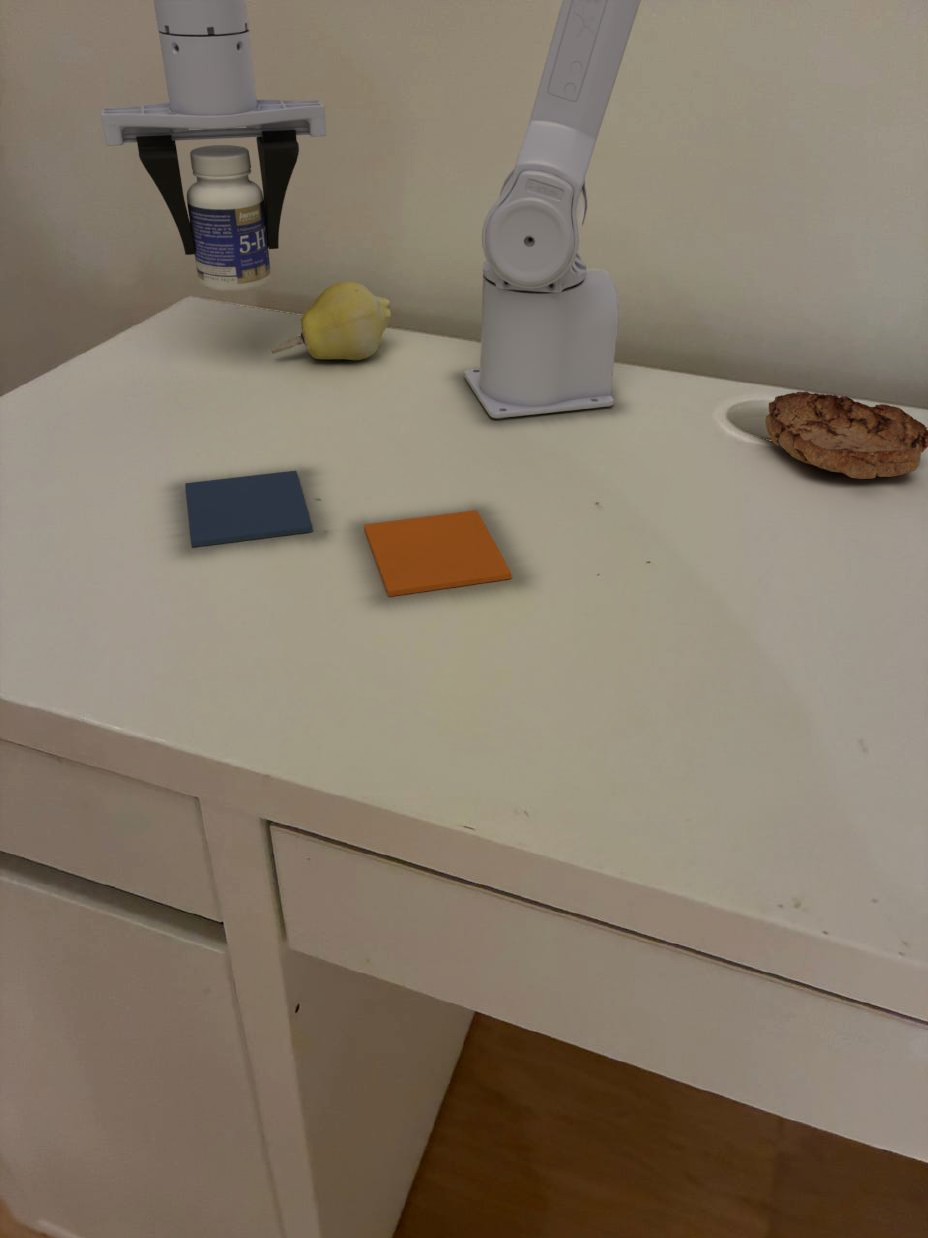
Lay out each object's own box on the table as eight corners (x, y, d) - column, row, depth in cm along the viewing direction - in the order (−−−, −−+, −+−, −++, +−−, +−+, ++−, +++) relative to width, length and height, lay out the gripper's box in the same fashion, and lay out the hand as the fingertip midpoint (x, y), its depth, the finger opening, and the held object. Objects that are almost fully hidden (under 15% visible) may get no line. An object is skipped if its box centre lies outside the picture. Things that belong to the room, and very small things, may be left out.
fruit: (263, 350, 80) (376, 315, 83) (291, 397, 77) (406, 359, 80) (252, 291, 76) (372, 256, 78) (281, 339, 73) (404, 300, 75)
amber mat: (476, 515, 61) (477, 509, 60) (511, 579, 55) (511, 573, 55) (364, 529, 59) (363, 524, 59) (388, 597, 54) (388, 591, 53)
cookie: (736, 402, 67) (730, 442, 69) (857, 466, 60) (846, 509, 62) (841, 372, 71) (832, 410, 73) (966, 428, 64) (953, 469, 66)
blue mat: (296, 475, 64) (296, 470, 64) (312, 532, 59) (312, 526, 58) (185, 488, 63) (184, 482, 62) (191, 547, 57) (190, 541, 57)
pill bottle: (256, 295, 71) (240, 162, 65) (187, 289, 71) (166, 157, 66) (282, 272, 75) (269, 144, 69) (216, 266, 76) (199, 140, 70)
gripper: (308, 20, 68) (323, 225, 76) (87, 24, 65) (128, 237, 73) (324, 34, 63) (338, 253, 71) (83, 39, 59) (127, 268, 68)
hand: (232, 247), depth 72 cm, fingers closed on pill bottle, 5 cm apart
